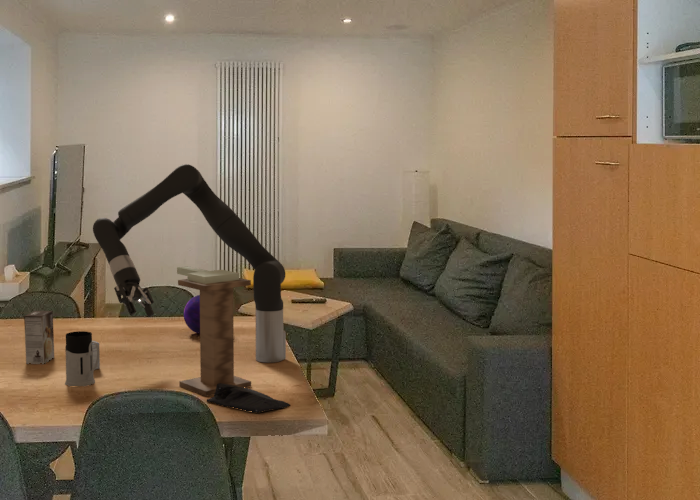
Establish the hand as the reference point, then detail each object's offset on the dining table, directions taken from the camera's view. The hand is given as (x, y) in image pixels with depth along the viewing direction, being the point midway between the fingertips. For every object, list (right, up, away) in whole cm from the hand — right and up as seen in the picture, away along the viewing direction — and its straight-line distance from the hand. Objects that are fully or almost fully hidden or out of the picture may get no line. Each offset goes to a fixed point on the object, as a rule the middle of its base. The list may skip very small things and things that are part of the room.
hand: (142, 314), depth 279 cm
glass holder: (-13, -20, -16) cm, 29 cm away
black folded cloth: (+37, -23, -33) cm, 55 cm away
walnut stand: (+26, -20, -17) cm, 37 cm away
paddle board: (+21, +12, -16) cm, 29 cm away
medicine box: (-18, -18, +1) cm, 25 cm away
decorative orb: (+10, -11, +54) cm, 57 cm away
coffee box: (-36, -16, +11) cm, 41 cm away
